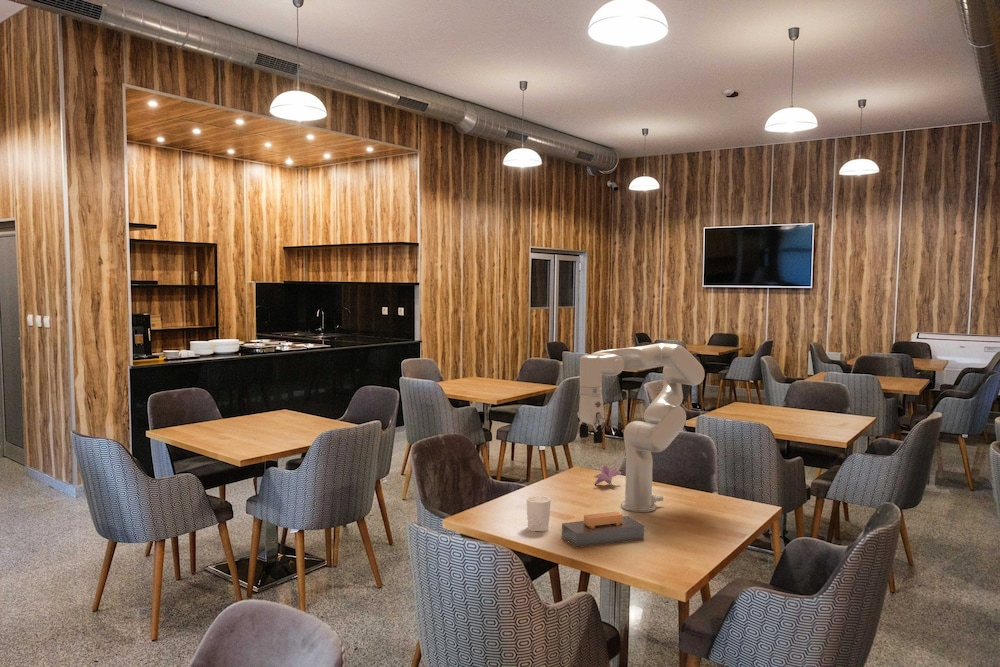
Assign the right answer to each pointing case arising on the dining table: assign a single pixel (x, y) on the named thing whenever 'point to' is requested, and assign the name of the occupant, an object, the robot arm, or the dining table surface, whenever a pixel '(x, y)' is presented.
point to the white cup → (538, 513)
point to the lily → (607, 474)
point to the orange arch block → (603, 519)
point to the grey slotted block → (602, 532)
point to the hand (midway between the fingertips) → (590, 440)
